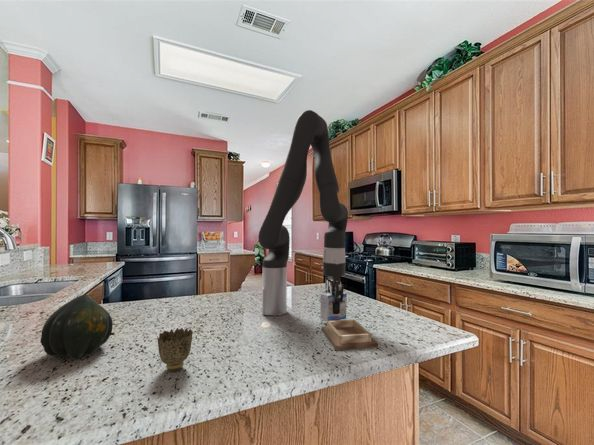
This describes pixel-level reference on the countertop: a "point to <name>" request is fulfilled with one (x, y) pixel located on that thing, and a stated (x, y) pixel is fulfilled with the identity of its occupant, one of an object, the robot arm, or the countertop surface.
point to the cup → (174, 347)
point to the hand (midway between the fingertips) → (333, 310)
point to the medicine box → (327, 308)
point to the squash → (76, 328)
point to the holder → (348, 335)
